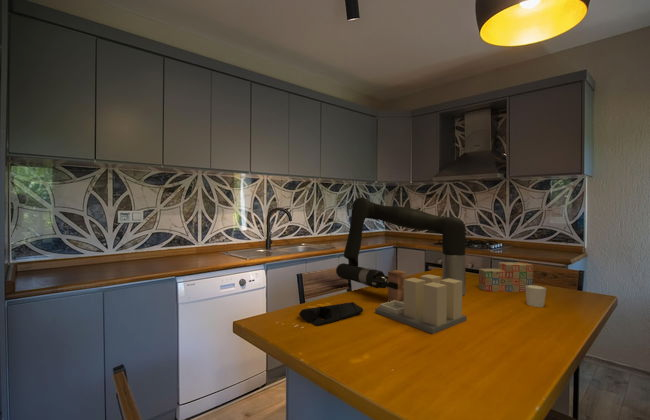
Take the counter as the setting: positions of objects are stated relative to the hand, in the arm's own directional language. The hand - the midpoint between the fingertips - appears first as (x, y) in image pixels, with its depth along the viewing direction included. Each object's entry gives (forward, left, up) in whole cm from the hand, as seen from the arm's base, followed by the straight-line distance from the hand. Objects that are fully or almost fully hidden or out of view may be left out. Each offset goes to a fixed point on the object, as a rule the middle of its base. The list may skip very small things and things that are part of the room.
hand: (402, 285), depth 127 cm
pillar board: (+7, +13, -7) cm, 17 cm away
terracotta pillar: (0, -3, -7) cm, 7 cm away
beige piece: (-40, +32, -7) cm, 52 cm away
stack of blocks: (-53, +15, -7) cm, 56 cm away
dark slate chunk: (+30, -7, -8) cm, 32 cm away
